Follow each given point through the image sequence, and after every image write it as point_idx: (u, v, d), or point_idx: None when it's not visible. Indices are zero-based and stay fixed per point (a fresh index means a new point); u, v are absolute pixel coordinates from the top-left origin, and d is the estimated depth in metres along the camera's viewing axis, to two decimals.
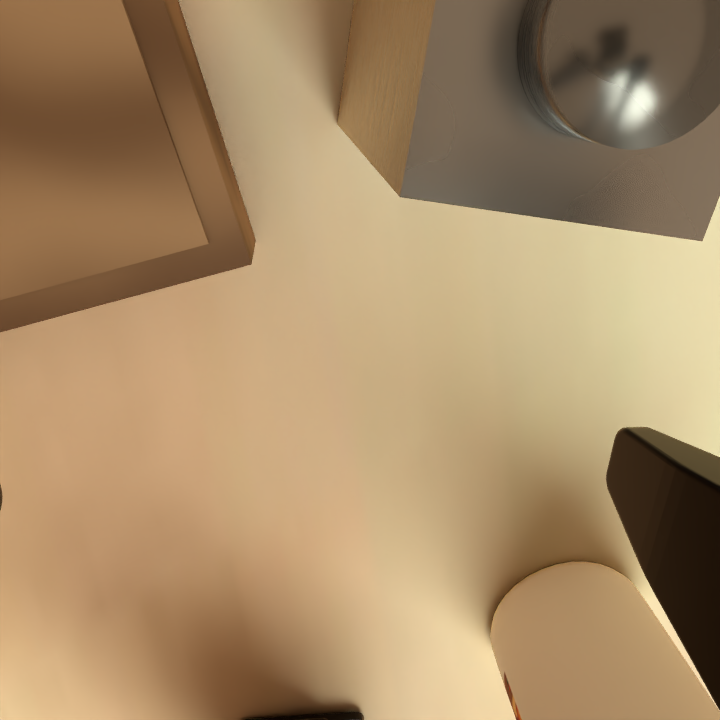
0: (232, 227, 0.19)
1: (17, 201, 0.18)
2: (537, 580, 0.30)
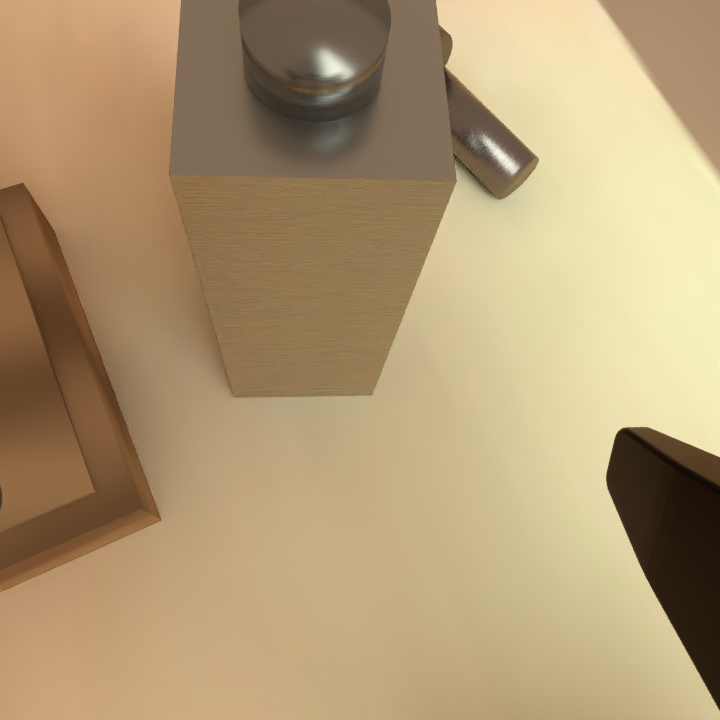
0: (121, 471, 0.19)
1: None
2: None
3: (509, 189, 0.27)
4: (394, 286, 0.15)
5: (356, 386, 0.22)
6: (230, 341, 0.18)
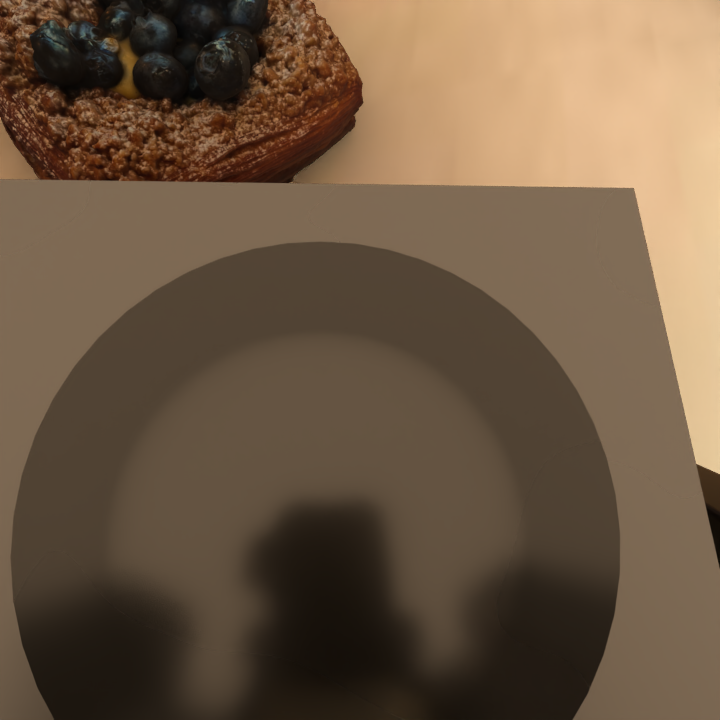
0: None
1: None
2: None
3: None
4: None
5: None
6: None
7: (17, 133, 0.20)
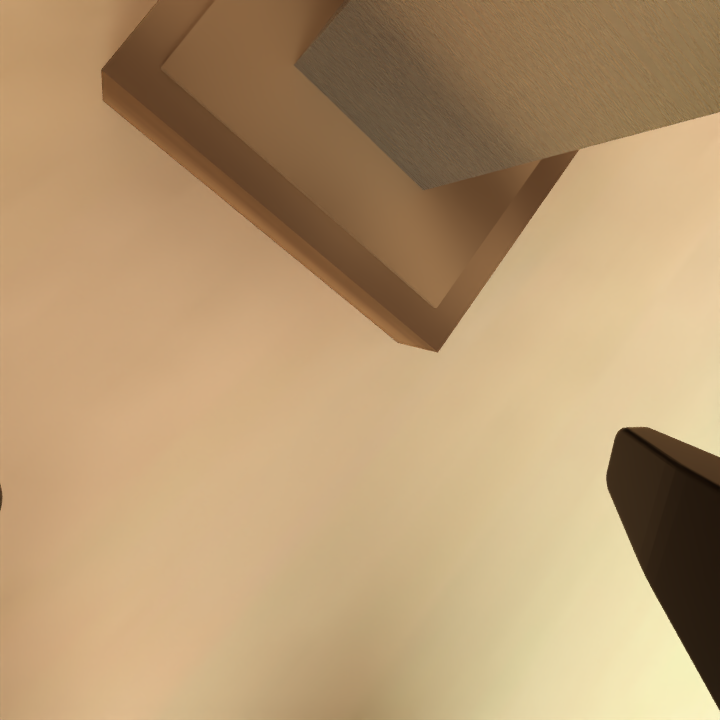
0: (456, 317, 0.20)
1: None
2: None
3: None
4: (645, 105, 0.11)
5: (424, 169, 0.18)
6: None
7: None
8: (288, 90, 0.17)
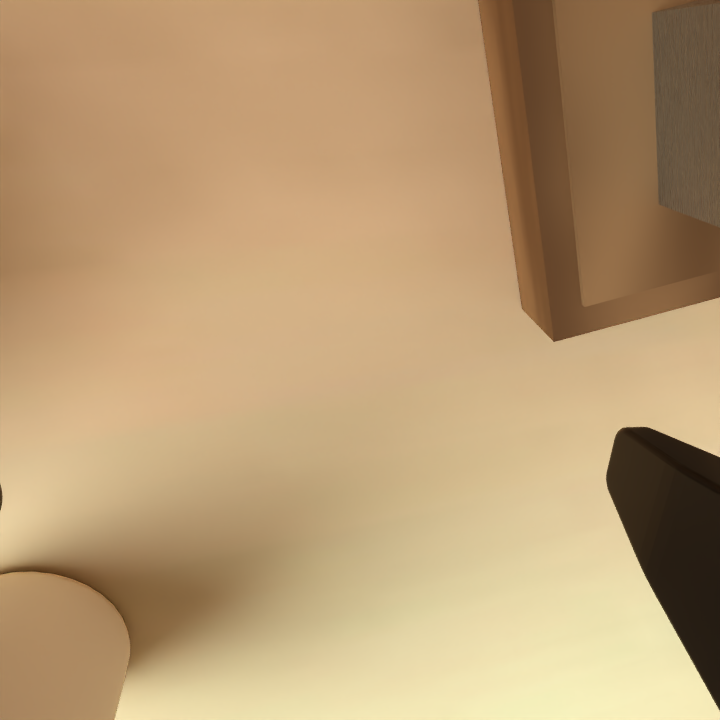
0: (591, 326, 0.20)
1: None
2: (107, 609, 0.26)
3: None
4: None
5: (679, 188, 0.17)
6: None
7: None
8: (629, 31, 0.16)
